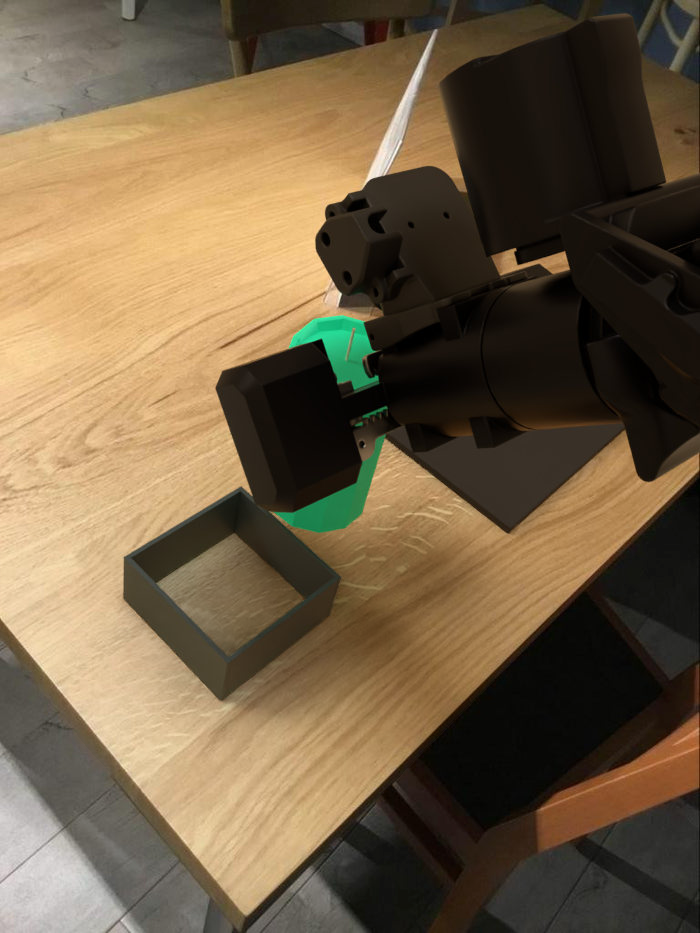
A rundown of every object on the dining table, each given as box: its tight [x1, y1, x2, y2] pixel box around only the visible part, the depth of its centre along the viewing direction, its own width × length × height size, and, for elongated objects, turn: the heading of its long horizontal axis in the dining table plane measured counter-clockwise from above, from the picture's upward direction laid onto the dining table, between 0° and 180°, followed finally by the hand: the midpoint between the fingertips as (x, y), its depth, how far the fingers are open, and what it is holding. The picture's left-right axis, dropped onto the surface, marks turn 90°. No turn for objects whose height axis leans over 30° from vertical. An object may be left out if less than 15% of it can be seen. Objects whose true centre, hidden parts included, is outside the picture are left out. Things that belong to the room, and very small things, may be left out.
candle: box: [273, 314, 388, 534], centre depth 47 cm, size 6×6×12 cm
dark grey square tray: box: [122, 486, 343, 702], centre depth 50 cm, size 9×9×4 cm
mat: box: [385, 423, 625, 534], centre depth 69 cm, size 20×20×1 cm
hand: (319, 394), depth 47 cm, fingers closed on candle, 5 cm apart
